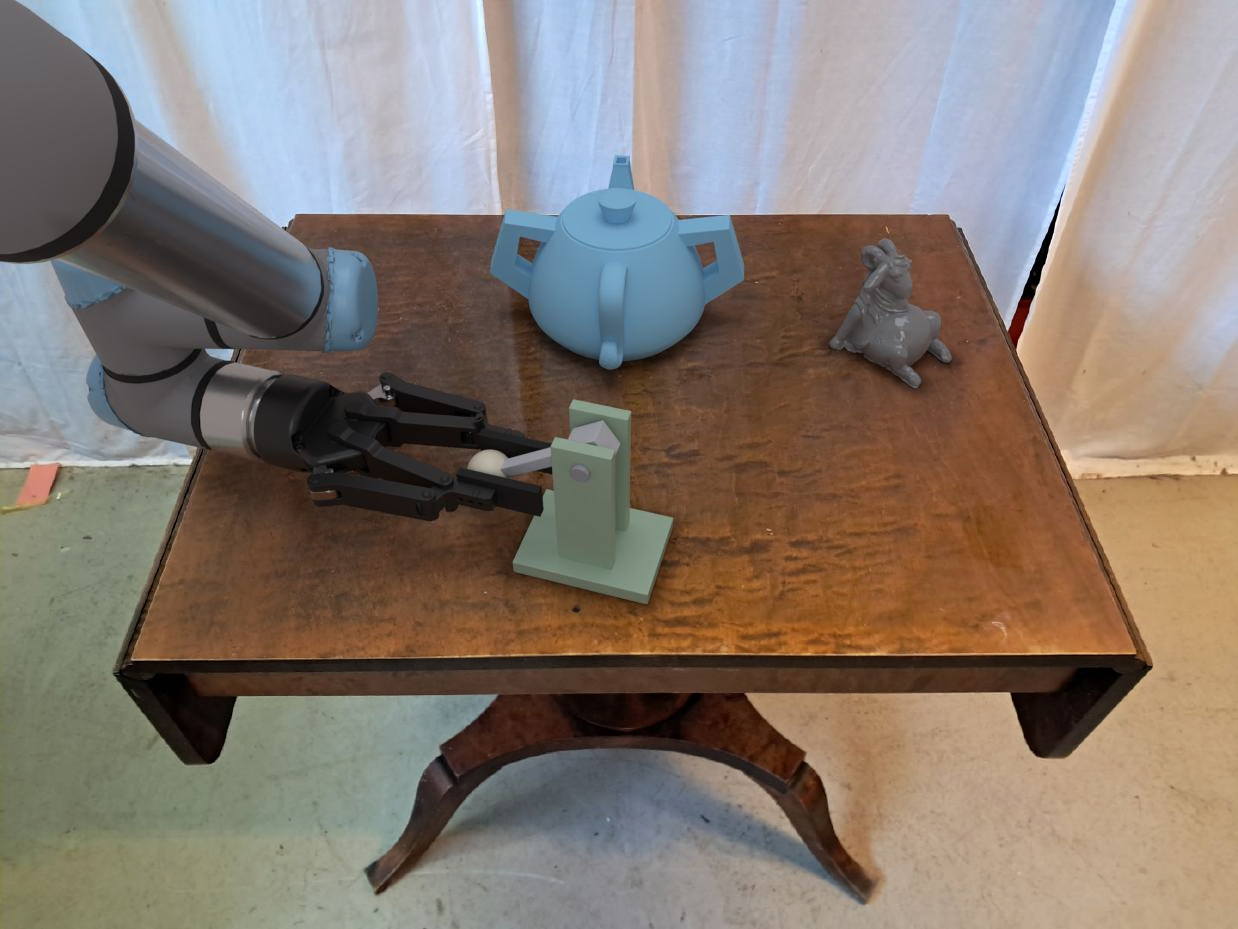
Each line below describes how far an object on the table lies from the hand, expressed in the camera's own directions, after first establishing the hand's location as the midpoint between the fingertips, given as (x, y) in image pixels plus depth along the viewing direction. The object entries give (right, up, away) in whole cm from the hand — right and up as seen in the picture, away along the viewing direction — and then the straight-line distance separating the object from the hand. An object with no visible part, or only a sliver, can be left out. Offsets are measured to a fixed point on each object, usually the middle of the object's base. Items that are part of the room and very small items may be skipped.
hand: (550, 480), depth 72 cm
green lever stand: (+3, -6, +5) cm, 8 cm away
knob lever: (0, 0, 0) cm, 0 cm away
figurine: (+32, +13, +22) cm, 41 cm away
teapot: (+5, +17, +26) cm, 31 cm away
